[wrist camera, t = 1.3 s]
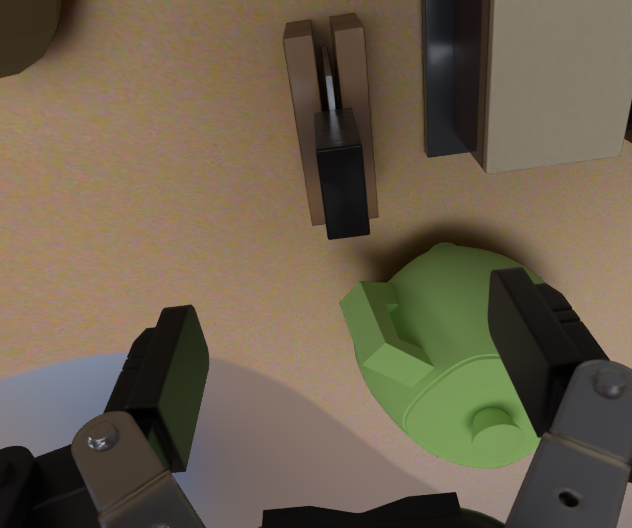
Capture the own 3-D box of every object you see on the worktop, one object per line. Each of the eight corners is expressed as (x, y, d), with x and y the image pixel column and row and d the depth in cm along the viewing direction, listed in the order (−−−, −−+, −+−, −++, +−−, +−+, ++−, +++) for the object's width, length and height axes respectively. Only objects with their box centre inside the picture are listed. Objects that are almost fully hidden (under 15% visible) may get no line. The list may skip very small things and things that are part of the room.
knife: (307, 49, 29) (309, 111, 18) (339, 44, 28) (358, 104, 18) (323, 166, 32) (332, 270, 22) (351, 162, 32) (373, 265, 22)
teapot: (603, 305, 39) (715, 444, 28) (479, 406, 45) (534, 552, 34) (402, 167, 32) (450, 279, 22) (288, 306, 38) (282, 447, 28)
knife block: (285, 23, 28) (282, 38, 24) (354, 12, 28) (364, 26, 23) (311, 189, 33) (312, 226, 29) (369, 181, 33) (378, 217, 29)
